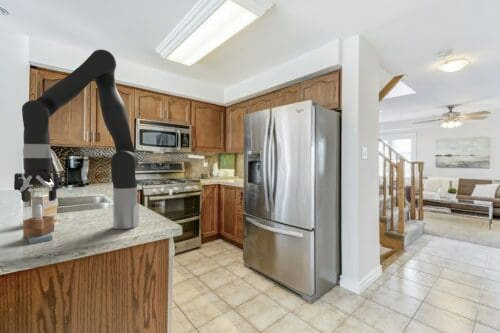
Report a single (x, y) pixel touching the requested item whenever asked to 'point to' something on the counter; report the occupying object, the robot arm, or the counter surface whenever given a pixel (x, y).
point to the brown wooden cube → (38, 226)
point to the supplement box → (45, 205)
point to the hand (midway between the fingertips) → (39, 201)
